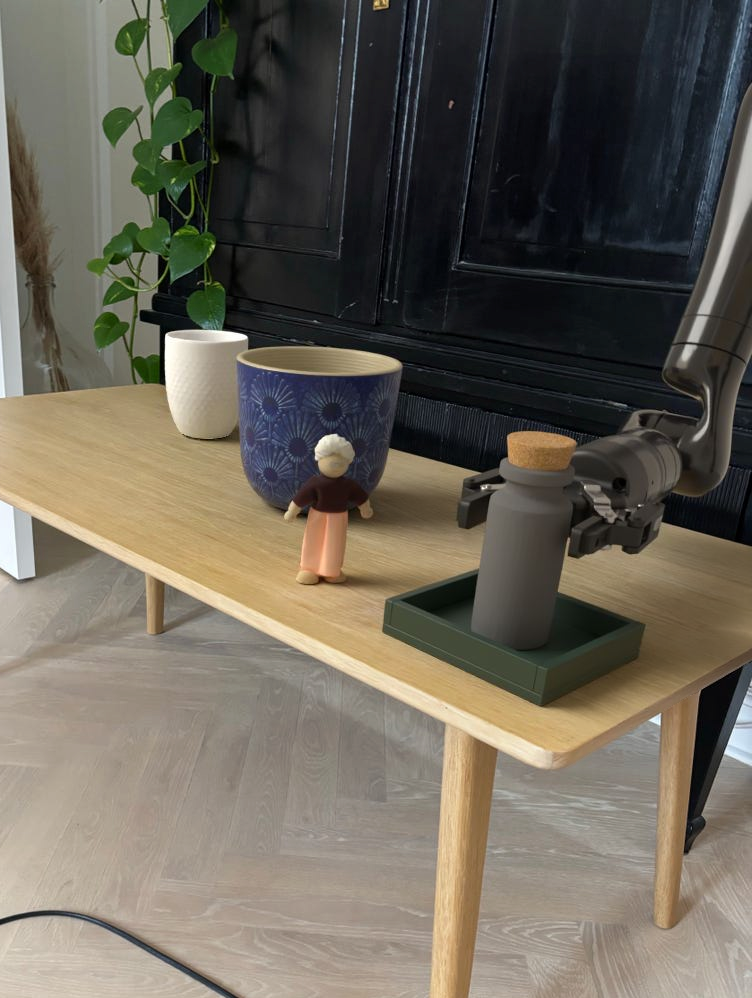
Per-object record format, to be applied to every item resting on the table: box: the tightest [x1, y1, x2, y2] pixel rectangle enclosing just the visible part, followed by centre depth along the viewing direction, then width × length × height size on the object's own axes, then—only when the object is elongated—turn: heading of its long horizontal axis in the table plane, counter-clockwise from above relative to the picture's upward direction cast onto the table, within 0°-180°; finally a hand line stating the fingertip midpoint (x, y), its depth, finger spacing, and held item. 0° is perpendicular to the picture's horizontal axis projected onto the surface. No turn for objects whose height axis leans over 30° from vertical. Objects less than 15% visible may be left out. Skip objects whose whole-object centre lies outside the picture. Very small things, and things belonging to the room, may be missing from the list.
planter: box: [236, 345, 404, 515], centre depth 99 cm, size 17×17×15 cm
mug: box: [164, 329, 249, 438], centre depth 128 cm, size 15×11×13 cm
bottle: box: [471, 430, 578, 650], centre depth 68 cm, size 6×6×15 cm
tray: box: [381, 567, 647, 707], centre depth 71 cm, size 15×13×3 cm
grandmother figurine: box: [283, 434, 374, 585], centre depth 80 cm, size 8×4×13 cm, turn 114°
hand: (517, 529), depth 66 cm, fingers open, 8 cm apart
